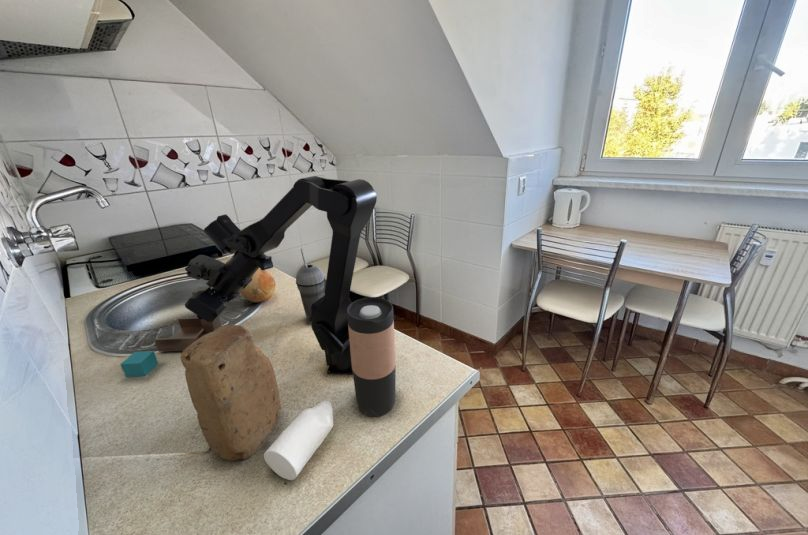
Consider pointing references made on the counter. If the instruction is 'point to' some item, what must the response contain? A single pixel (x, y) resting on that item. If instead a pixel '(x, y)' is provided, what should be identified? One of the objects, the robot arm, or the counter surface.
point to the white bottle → (300, 441)
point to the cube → (139, 363)
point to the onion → (259, 287)
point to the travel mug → (372, 354)
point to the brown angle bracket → (188, 331)
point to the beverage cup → (310, 285)
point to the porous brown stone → (232, 391)
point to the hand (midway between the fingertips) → (203, 314)
